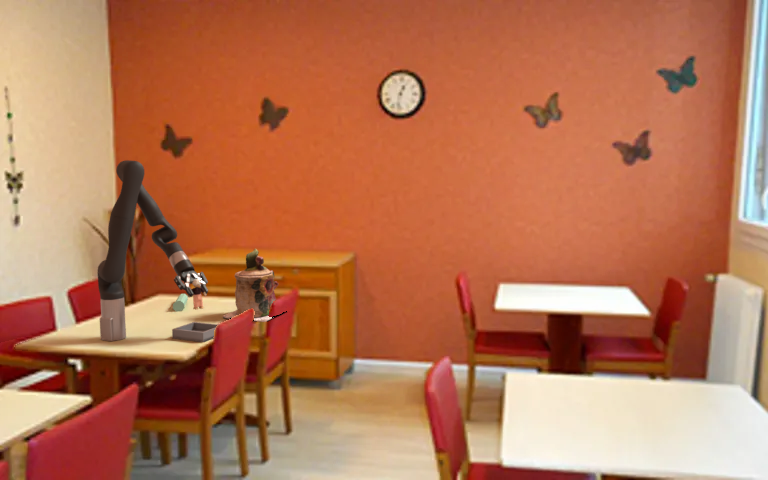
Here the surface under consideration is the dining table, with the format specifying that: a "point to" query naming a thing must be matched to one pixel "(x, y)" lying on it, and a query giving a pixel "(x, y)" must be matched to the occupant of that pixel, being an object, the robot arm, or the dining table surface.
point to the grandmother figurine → (197, 294)
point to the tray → (194, 332)
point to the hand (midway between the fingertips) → (199, 294)
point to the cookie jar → (254, 288)
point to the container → (180, 302)
